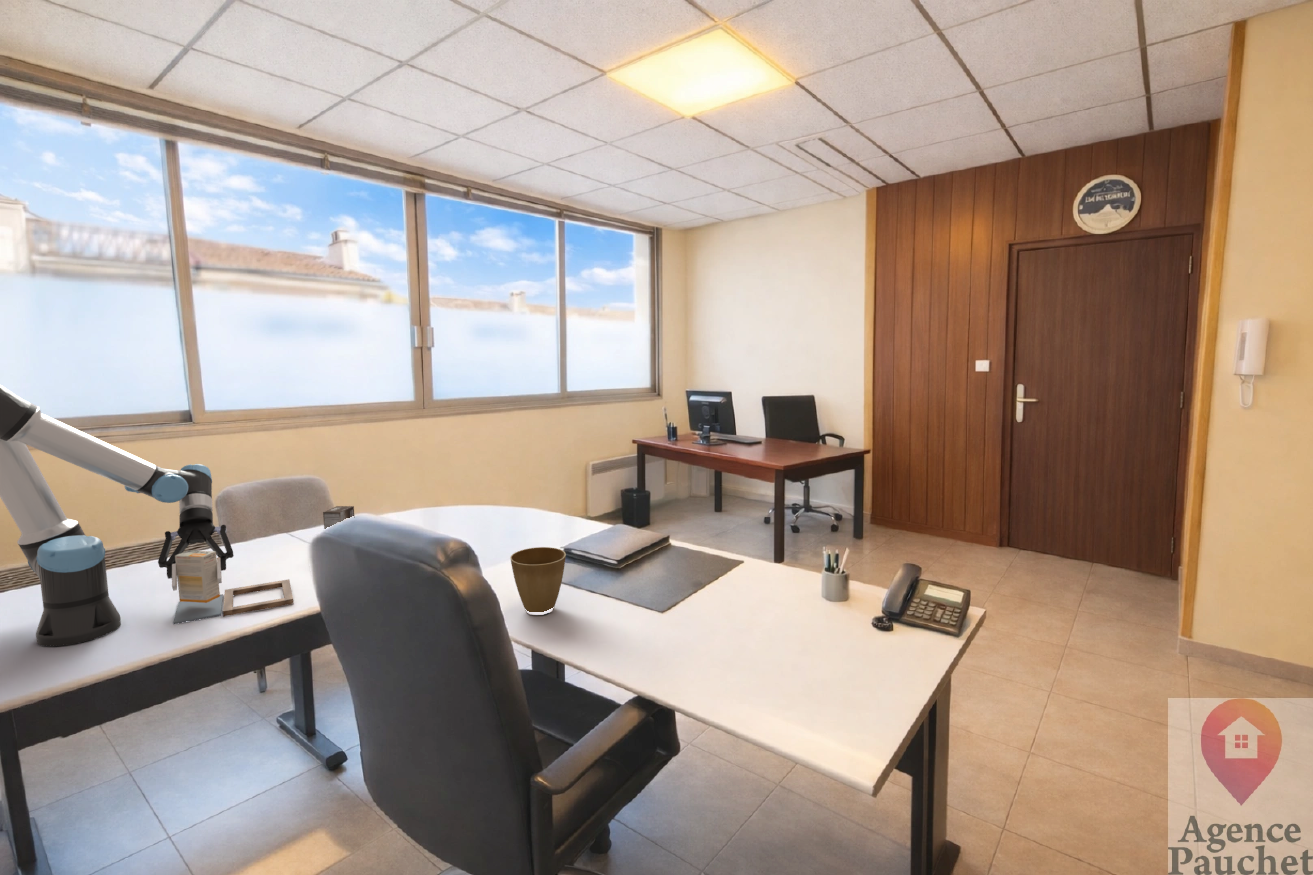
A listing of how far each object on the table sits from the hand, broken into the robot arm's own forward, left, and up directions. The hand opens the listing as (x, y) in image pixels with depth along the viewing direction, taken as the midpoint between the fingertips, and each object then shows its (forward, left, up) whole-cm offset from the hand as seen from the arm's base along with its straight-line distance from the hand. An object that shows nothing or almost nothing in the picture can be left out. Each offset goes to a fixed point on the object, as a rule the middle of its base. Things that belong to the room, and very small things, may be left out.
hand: (197, 584), depth 160 cm
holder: (+13, +3, -8) cm, 16 cm away
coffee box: (+38, +37, -8) cm, 54 cm away
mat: (0, +3, -8) cm, 9 cm away
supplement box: (0, +3, -5) cm, 6 cm away
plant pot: (+77, -47, -8) cm, 91 cm away
